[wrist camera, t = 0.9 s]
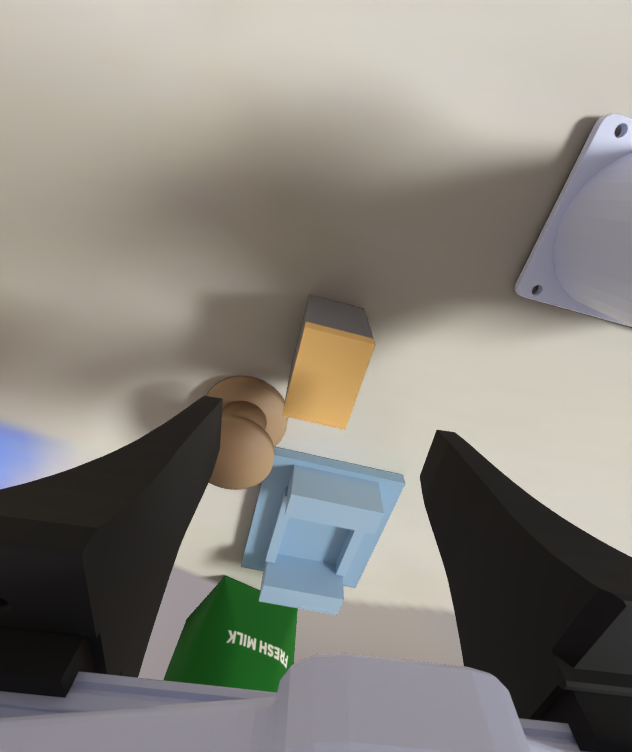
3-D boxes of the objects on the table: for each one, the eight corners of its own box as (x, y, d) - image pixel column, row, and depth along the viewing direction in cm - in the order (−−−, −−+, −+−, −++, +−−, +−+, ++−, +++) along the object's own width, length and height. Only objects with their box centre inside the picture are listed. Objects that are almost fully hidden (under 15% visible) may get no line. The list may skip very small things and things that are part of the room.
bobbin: (296, 387, 23) (290, 427, 19) (278, 455, 25) (270, 503, 21) (209, 367, 22) (185, 404, 18) (198, 437, 24) (176, 483, 21)
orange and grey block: (363, 308, 20) (375, 344, 16) (340, 378, 22) (345, 429, 18) (309, 294, 20) (304, 327, 15) (291, 367, 22) (282, 415, 17)
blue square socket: (403, 474, 25) (413, 514, 22) (354, 578, 30) (357, 622, 27) (271, 446, 24) (263, 483, 21) (242, 557, 29) (233, 600, 26)
